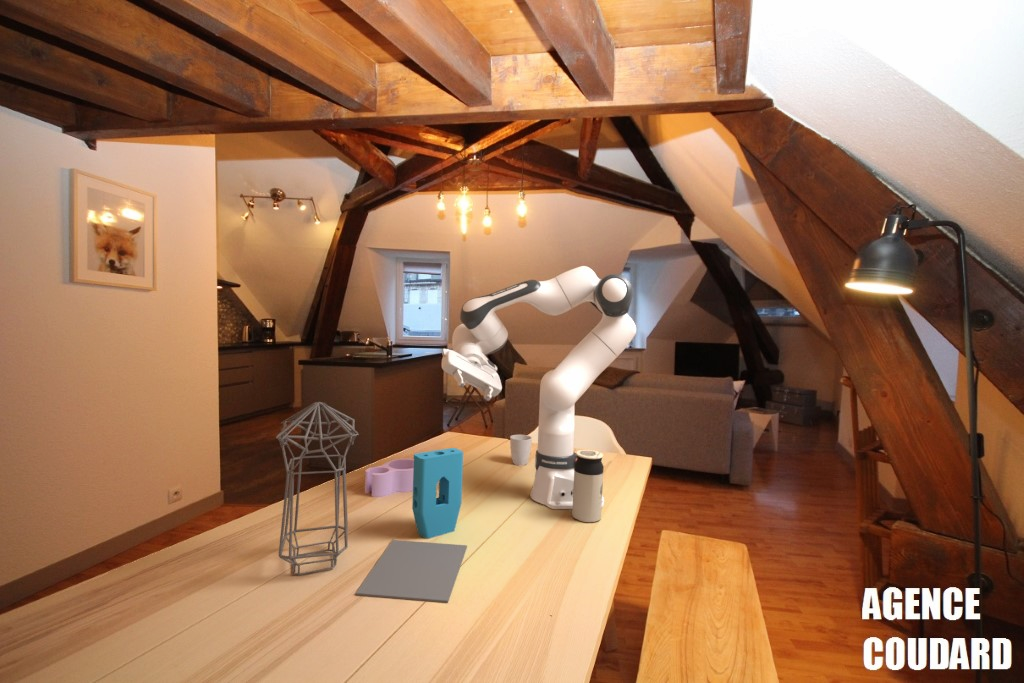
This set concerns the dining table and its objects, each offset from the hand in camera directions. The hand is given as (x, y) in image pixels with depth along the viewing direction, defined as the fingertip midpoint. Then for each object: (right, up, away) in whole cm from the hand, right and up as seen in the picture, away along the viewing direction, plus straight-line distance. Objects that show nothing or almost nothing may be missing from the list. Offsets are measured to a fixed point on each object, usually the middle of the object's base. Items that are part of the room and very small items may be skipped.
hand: (475, 391), depth 132 cm
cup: (+13, -32, +45) cm, 57 cm away
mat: (-10, -35, -31) cm, 48 cm away
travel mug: (+31, -35, -1) cm, 47 cm away
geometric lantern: (-32, -34, -31) cm, 56 cm away
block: (-9, -34, -13) cm, 38 cm away
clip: (-26, -32, +16) cm, 44 cm away
